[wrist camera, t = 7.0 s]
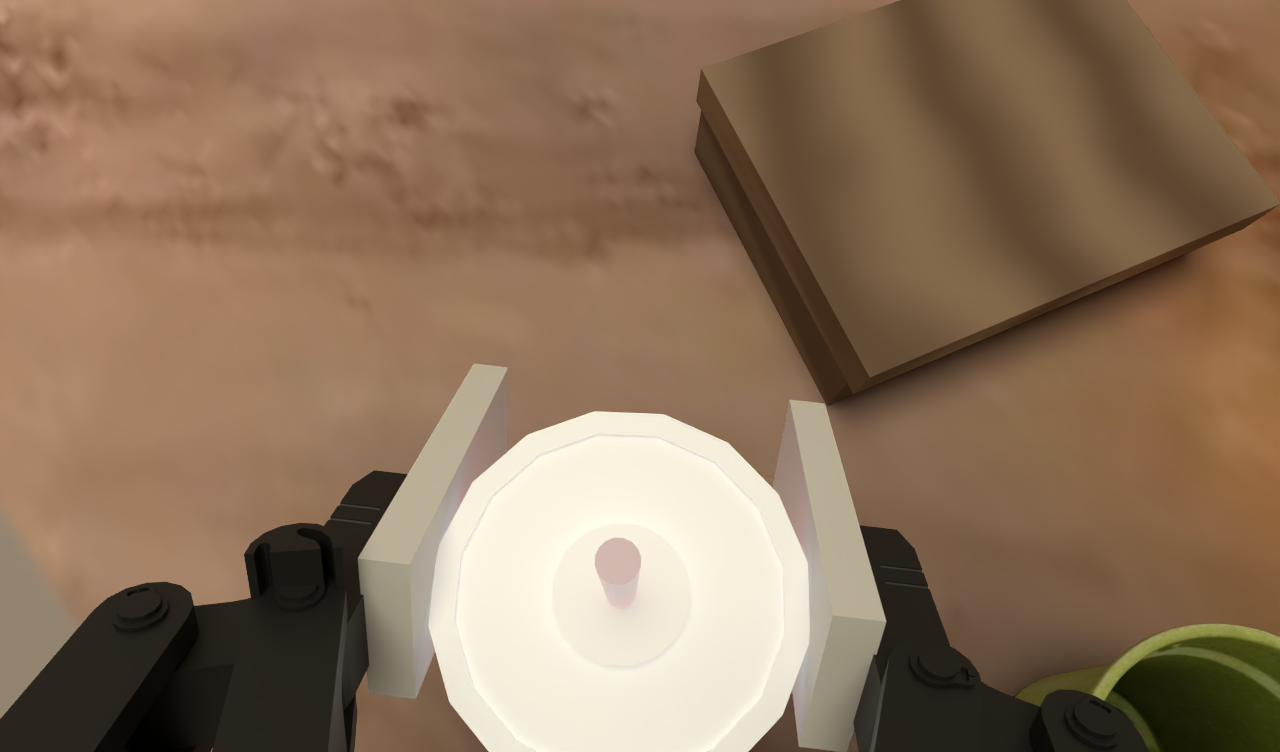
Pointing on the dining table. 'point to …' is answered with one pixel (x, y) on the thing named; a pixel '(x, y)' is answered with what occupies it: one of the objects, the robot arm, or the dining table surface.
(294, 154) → the dining table surface
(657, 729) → the beverage cup
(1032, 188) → the walnut shelf
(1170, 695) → the plant pot
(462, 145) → the dining table surface
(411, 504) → the robot arm
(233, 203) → the dining table surface
